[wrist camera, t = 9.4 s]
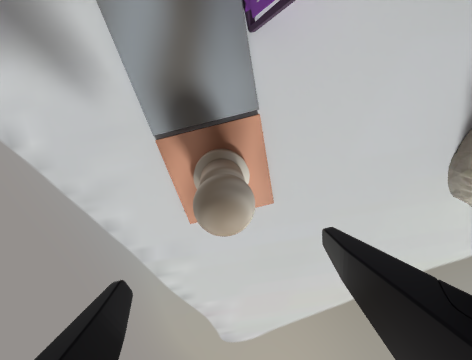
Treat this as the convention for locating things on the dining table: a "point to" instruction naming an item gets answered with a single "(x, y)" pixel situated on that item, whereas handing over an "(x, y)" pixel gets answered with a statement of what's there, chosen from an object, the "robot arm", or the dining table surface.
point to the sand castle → (462, 171)
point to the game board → (192, 83)
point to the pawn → (223, 193)
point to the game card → (256, 3)
